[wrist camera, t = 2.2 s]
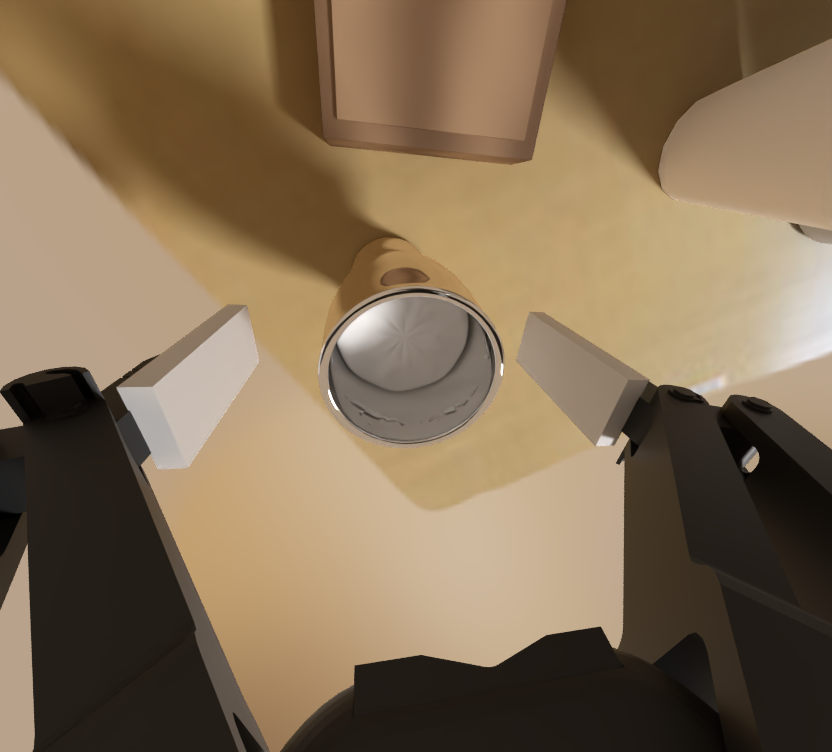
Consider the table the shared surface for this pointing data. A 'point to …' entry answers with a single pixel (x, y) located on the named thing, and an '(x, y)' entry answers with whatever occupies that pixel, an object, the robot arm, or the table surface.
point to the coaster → (436, 75)
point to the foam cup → (760, 144)
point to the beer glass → (407, 350)
